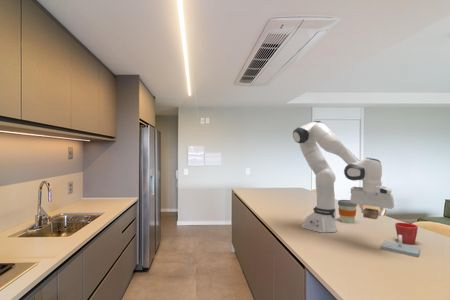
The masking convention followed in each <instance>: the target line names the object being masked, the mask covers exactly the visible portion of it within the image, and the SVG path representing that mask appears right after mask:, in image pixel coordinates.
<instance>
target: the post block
mask: <svg viewBox="0 0 450 300" xmlns="http://www.w3.org/2000/svg"><path fill="white" fill-rule="evenodd" d="M397 241H398V242H396V241H390V240H383V242H382V243H381V244H380V245H379V247H380V250H384V251H388V252H391V253H392V252H393V253H398V254H402V255H406V256H411V257H416V258H419V256H420V251H421V246H414V245H411V244H406V243H402V235H398V237H397Z"/></svg>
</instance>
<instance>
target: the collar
mask: <svg viewBox="0 0 450 300" xmlns="http://www.w3.org/2000/svg"><path fill="white" fill-rule="evenodd" d="M363 209H364V210H363V213H362V216H363V217H362V218H364V219H371V220H377V219H378V218H379V216H378V215H377V212H379V209H376V208H369V207H365V208H363Z"/></svg>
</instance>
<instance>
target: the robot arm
mask: <svg viewBox="0 0 450 300" xmlns="http://www.w3.org/2000/svg"><path fill="white" fill-rule="evenodd" d="M292 138H293V140H294V142H296V143H298V144H299V148H300V150H301V153H302V155H303V157H304V159H305V160H306V163H307V164H308V166H309V168H310V169H311V170H312V172H313V173H314V175H315V191H316V206H315V207H313V209H312V210H313V212H312V213H310V214H309V215H308V216H306V218H304V219H305V220H304V223H302V224H301V228H303V229H306V230H309V231H314V232H318V233H336V232H338V229H337V228H338V227H337V223H336V205H335V203H336V197H335V182H336V174H335V172H334V171H333V170H332V168H331V166H330V164H329V163H328V161H327V160H326V158H325V156H324V154H323V153H322V151H321V149H323V150H324V151H325V152H327V153H330V154H333V155H336V156H338V157H339V158H341V159H342V161H344V163H345V164H346V166H345V167H344V170H343V173H344V174H343V175H344V176H345V178H346V179H347V180H350V181H354V182H355V181H362V187H361V186H352V187H350V199H349V200H350V201H351V203H354V204H357V205H359V208H360V210H361V211H360V212H361V214H363V210H364V209H365V208H363V206H369V207H375V208H376V207H377V208H379V211H378V212H377V215H378V217H381V215H382V212H383V211H384V209H389V210H391V209H394V207H395V200H394V196H393V195H392V188H391V189H390V188H388V187H386V186H382V184H383V183H382V176H383V168H382V167H383V166H382V162H381V161H380V160H379V159H377V158H373V157H365V158H364V159H362V160H360V159H359V158H358V157H356V155H354V154H353V153H352V152H351V151H350V149H349V148H347V147H346V145H345V144H344V143H343V142H342V141H341V140H340V139H339V137H338V136H337V135H336V134H335V132H333V130H331V129H330V127H328V126H327V125H326V124H325V123H323V122H321V121H320V120H315V121H312V122H311V121H310V122H307V123H305V124H303V125H302V126H299V127H297V128H295V129H294V130H293V132H292ZM319 147H320V148H321V149H320V148H319Z"/></svg>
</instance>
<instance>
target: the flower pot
mask: <svg viewBox="0 0 450 300" xmlns="http://www.w3.org/2000/svg"><path fill="white" fill-rule="evenodd" d="M394 226H395V230H396V236H397V238H398V235H402V244H405V245H414V244H415V243H416V240H417V239H416V238H417V234H418V229H419V227H418V225H416V224H413V223H408V222H395V224H394Z"/></svg>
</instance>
